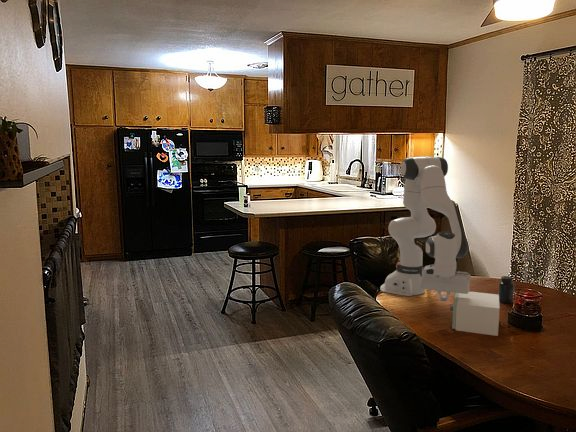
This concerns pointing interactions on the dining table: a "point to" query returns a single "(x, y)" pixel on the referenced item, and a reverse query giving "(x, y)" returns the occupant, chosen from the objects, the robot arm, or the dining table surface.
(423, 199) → the robot arm
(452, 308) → the grey drawer
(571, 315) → the dining table surface
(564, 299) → the dining table surface
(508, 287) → the supplement bottle
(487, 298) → the block
